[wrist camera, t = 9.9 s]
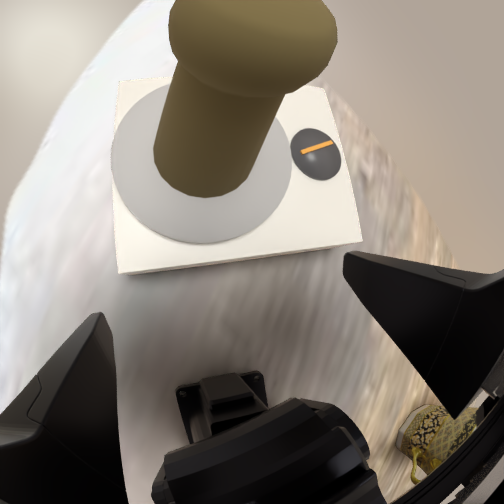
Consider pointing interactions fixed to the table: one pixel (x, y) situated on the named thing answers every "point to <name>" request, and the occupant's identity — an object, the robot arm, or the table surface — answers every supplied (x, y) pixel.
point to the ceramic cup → (433, 436)
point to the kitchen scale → (235, 202)
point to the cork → (233, 84)
